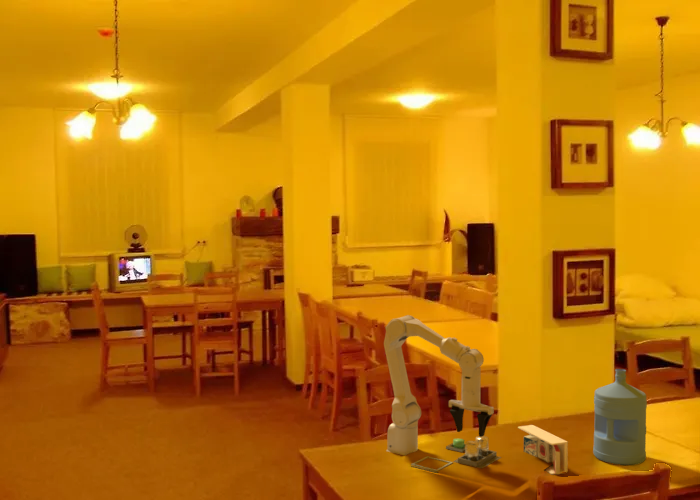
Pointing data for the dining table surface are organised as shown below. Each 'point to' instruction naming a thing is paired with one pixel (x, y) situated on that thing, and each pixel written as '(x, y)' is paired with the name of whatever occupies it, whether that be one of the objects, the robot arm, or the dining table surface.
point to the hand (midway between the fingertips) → (470, 433)
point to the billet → (472, 450)
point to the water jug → (620, 422)
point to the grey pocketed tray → (481, 462)
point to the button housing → (455, 448)
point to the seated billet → (483, 445)
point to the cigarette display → (546, 448)
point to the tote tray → (430, 468)
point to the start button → (458, 443)
